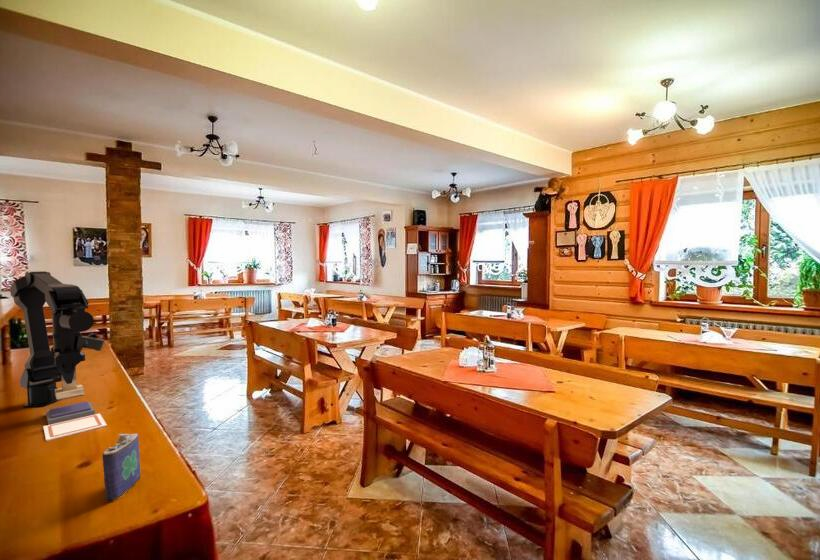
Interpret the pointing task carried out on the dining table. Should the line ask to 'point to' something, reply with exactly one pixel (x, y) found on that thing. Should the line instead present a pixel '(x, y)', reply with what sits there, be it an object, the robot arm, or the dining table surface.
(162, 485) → the dining table surface
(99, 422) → the print card
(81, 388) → the stamp
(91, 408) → the ink pad
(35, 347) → the robot arm
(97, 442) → the dining table surface
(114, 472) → the flask
